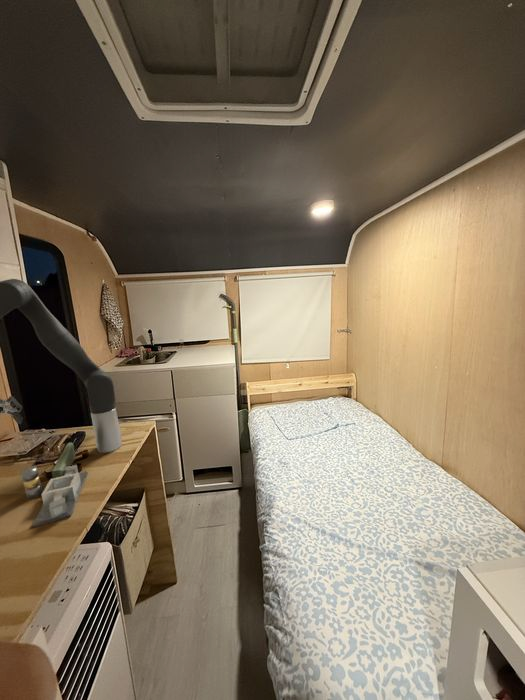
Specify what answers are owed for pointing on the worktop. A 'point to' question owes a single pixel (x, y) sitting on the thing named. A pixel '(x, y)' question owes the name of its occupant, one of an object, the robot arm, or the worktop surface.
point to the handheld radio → (64, 460)
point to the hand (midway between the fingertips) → (6, 427)
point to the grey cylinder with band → (31, 482)
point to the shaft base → (69, 504)
